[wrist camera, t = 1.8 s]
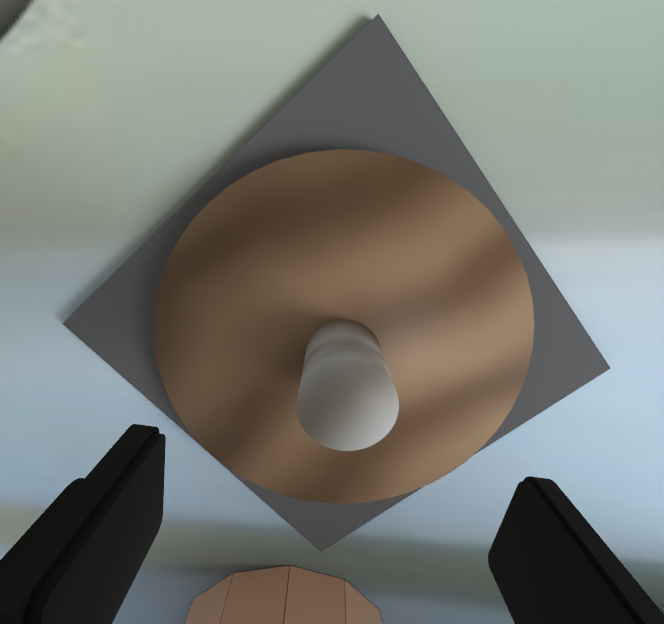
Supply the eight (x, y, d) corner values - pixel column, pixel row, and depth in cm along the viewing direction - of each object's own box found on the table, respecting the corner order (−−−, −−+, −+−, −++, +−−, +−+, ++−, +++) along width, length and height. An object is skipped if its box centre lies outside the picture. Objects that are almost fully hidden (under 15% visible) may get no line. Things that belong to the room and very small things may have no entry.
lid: (587, 366, 20) (697, 435, 14) (322, 536, 23) (319, 647, 17) (373, 52, 15) (401, -48, 9) (89, 325, 19) (-22, 379, 13)
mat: (602, 363, 20) (610, 368, 20) (321, 543, 24) (320, 551, 24) (376, 21, 15) (378, 13, 15) (70, 320, 19) (62, 323, 19)
